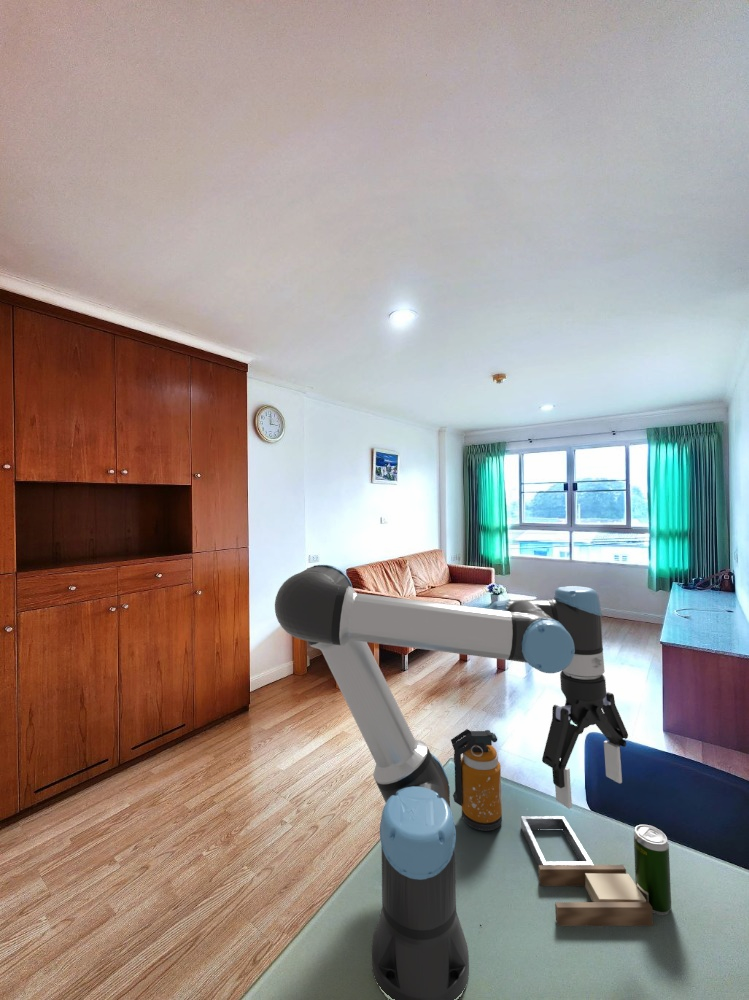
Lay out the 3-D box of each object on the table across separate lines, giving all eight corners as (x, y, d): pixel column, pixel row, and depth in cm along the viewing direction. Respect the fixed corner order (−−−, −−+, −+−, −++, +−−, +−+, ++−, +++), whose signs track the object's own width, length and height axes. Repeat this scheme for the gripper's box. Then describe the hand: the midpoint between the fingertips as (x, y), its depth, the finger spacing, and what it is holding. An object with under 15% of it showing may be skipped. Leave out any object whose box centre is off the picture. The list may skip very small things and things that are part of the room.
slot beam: (558, 925, 74) (557, 907, 74) (538, 881, 83) (538, 865, 83) (652, 925, 74) (652, 907, 74) (623, 881, 83) (622, 864, 83)
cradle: (594, 878, 83) (593, 864, 83) (543, 878, 84) (543, 864, 84) (564, 827, 97) (564, 816, 97) (521, 827, 97) (520, 816, 97)
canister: (507, 833, 95) (504, 740, 96) (456, 834, 96) (454, 741, 96) (496, 806, 104) (493, 721, 105) (450, 806, 105) (448, 722, 105)
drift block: (599, 916, 76) (599, 899, 76) (585, 889, 81) (584, 873, 81) (646, 917, 76) (645, 899, 76) (629, 890, 81) (628, 873, 81)
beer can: (660, 921, 74) (657, 849, 75) (629, 897, 79) (627, 830, 79) (678, 907, 77) (675, 838, 77) (646, 885, 82) (644, 819, 82)
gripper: (550, 694, 71) (559, 828, 70) (643, 664, 82) (652, 780, 81) (516, 680, 78) (523, 802, 77) (607, 654, 89) (614, 761, 88)
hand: (589, 791), depth 79 cm, fingers open, 13 cm apart
